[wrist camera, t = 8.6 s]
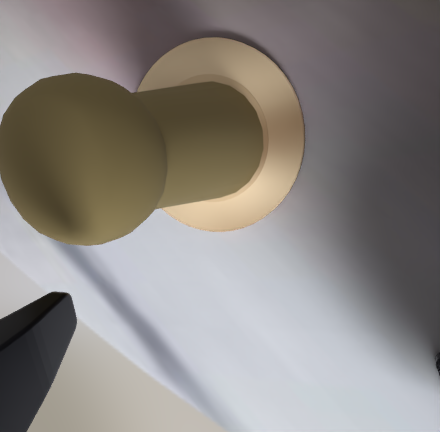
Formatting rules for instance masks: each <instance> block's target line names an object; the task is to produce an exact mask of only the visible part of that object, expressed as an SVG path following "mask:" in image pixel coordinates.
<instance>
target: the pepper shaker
mask: <svg viewBox="0 0 440 432" xmlns="http://www.w3.org/2000/svg"><path fill="white" fill-rule="evenodd" d="M263 149H264V148H263V129H262V126H261V123H260V120H259V117H258V115H257V112H256V110H255V109H254V107H253V106H252V105H251V103H250V102H249V101H248V99H247V98H246V97H245V96H244V95H243V94H241V93H240V92H238V91H237V90H236V89H234V88H233V87H231V86H230V85H226V84H222V83H218V82H214V81H210V82H201V83H193V84H187V85H180V86H174V87H167V88H161V89H155V90H148V91H142V92H135V93H131V92H129V91H128V90H126V89H125V88H124V87H122V86H120V85H118V84H117V83H115V82H113V81H110V80H107V79H103V78H100V77H96V76H92V75H87V74H81V73H71V74H64V75H58V76H52V77H48V78H44V79H40V80H39V81H37V82H36V83H34V84H33V85H31V86H30V87H28V88H27V89H25V90H24V91H23V92H21V93H20V94H19V95H18V96H17V97H16V98H14V100H13V101H12V103H11V104H10V106H9V107H8V109H7V110H6V112H5V113H4V115H3V118H2V122H1V125H0V174H1V179H2V182H3V184H4V187H5V189H6V191H7V194H8V196H9V198H10V201H11V202H12V204H13V205H14V206H15V208H16V209H17V211H18V212H19V213H20V215H21V216H22V218H23V219H24V220H25V221H26V222H28V223H29V224H30V225H31V226H32V227H33V228H34V229H36V230H37V231H38V232H39V233H41V234H44V235H46V236H48V237H50V238H52V239H55V240H57V241H60V242H63V243H66V244H72V245H85V246H90V245H99V244H103V243H106V242H109V241H112V240H115V239H118V238H121V237H123V236H125V235H127V234H129V233H131V232H132V231H133V230H134V229H136V228H137V227H138V226H139V225H140V224H141V223H142V222H143V221H145V220H146V219H147V218H148V217H149V216H150V215H151V213H152V212H153V211H154V210H155V209H159V208H165V207H171V206H176V205H182V204H188V203H194V202H199V201H205V200H211V199H217V198H221V197H224V196H227V195H230V194H233V193H236V192H237V191H238V190H240V189H241V188H242V187H243V186H245V185H246V184H247V183H249V181H250V180H251V178H252V177H253V175H254V174H255V172H256V170H257V169H258V167H259V164H260V160H261V156H262V153H263Z"/></svg>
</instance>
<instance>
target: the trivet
mask: <svg viewBox="0 0 440 432" xmlns="http://www.w3.org/2000/svg"><path fill="white" fill-rule="evenodd" d="M210 81H214V82H218V83H222V84H226V85H230V86H231V87H233V88H234V89H236V90H237V91H238V92H240V93H241V94H243V95H244V96H245V97H246V98H247V99H248V101H249V102H250V103H251V105H252V106H253V107H254V109H255V110H256V112H257V115H258V117H259V120H260V123H261V126H262V129H263V148H264V149H263V153H262V156H261V160H260V164H259V167H258V169H257V170H256V172H255V174H254V175H253V177H252V178H251V180H250V181H249V183H247V184H246V185H245V186H243V187H242V188H241V189H240V190H238V191H237V192H236V193H233V194H230V195H227V196H224V197H221V198H217V199H211V200H205V201H199V202H194V203H188V204H182V205H176V206H171V207H165V208H162V209H163V210H164V211H165V212H166V213H167V214H169V215H170V216H171V217H173V218H175V219H176V220H178V221H179V222H181V223H183V224H186V225H188V226H190V227H193V228H196V229H200V230H205V231H212V232H225V231H233V230H237V229H241V228H244V227H247V226H249V225H251V224H254V223H255V222H257V221H259V220H261V219H262V218H264V217H265V216H266V215H268V214H269V213H270V212H271V211H273V210H274V209H275V208H276V207H277V206H278V205H279V204H280V203H281V202H282V201H283V199H284V198H285V197H286V195H287V194H288V193H289V191H290V190H291V188H292V186H293V184H294V182H295V180H296V178H297V176H298V173H299V170H300V168H301V164H302V160H303V155H304V147H305V125H304V119H303V113H302V109H301V106H300V103H299V100H298V97H297V95H296V93H295V91H294V89H293V87H292V85H291V83H290V82H289V80H288V79H287V77H286V75H285V74H284V73H283V72H282V71H281V69H280V68H279V67H278V66H277V65H276V64H275V63H274V62H273V61H272V60H271V59H269V58H268V57H267V56H266V55H264V54H263V53H261V52H260V51H258V50H257V49H255V48H253V47H250V46H248V45H246V44H244V43H242V42H238V41H235V40H231V39H226V38H218V37H212V38H201V39H196V40H192V41H189V42H186V43H183V44H181V45H179V46H177V47H175V48H173V49H171V50H170V51H169V52H167V53H166V54H165V55H163V56H162V57H161V58H160V59H159V60H158V61H157V62H156V63H155V64H154V65H153V66H152V67H151V69H150V70H149V71H148V72H147V74H146V75H145V77H144V79H143V80H142V82H141V84H140V86H139V88H138V90H137V92H142V91H148V90H155V89H161V88H167V87H174V86H180V85H187V84H193V83H201V82H210Z"/></svg>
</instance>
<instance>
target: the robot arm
mask: <svg viewBox="0 0 440 432" xmlns="http://www.w3.org/2000/svg"><path fill="white" fill-rule="evenodd" d="M76 324H77V317H76V313H75V309H74V305H73V301H72V297H71V295H70V294H69V293H65V292H51V293H49V294H47V295H45V296H43V297H41V298H40V299H37V300H36V301H34V302H32V303H30V304H28V305H26V306H24V307H23V308H21V309H19V310H17V311H15V312H13V313H11V314H10V315H8V316H6V317H4V318H2V319H0V432H27V430H28V428H29V426H30V424H31V423H32V421H33V419H34V417H35V415H36V414H37V412H38V410H39V408H40V406H41V404H42V403H43V401H44V399H45V397H46V395H47V393H48V391H49V389H50V387H51V385H52V383H53V381H54V379H55V376H56V374H57V371H58V369H59V367H60V364H61V362H62V360H63V357H64V355H65V353H66V350H67V348H68V345H69V343H70V341H71V338H72V336H73V334H74V331H75V329H76ZM435 361H436V366H437V369H438V372H439V375H440V353H439V354H437V355H436V358H435Z"/></svg>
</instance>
